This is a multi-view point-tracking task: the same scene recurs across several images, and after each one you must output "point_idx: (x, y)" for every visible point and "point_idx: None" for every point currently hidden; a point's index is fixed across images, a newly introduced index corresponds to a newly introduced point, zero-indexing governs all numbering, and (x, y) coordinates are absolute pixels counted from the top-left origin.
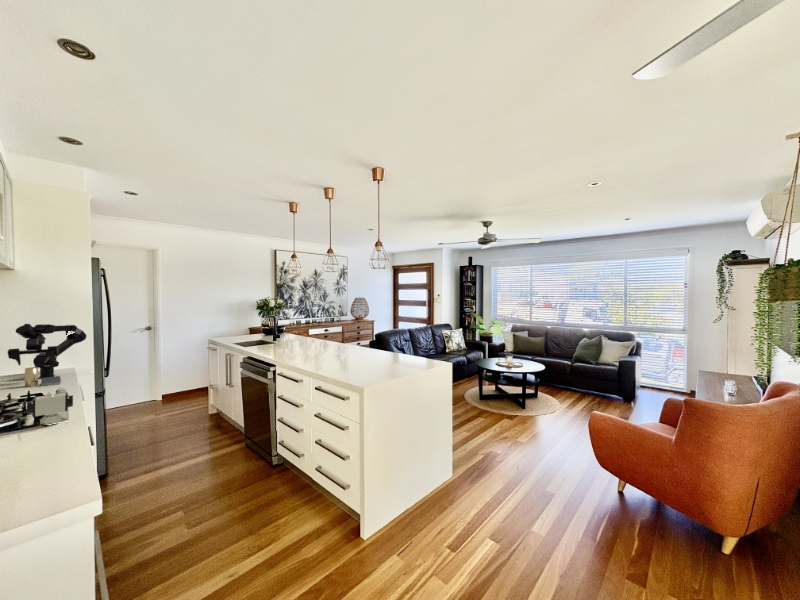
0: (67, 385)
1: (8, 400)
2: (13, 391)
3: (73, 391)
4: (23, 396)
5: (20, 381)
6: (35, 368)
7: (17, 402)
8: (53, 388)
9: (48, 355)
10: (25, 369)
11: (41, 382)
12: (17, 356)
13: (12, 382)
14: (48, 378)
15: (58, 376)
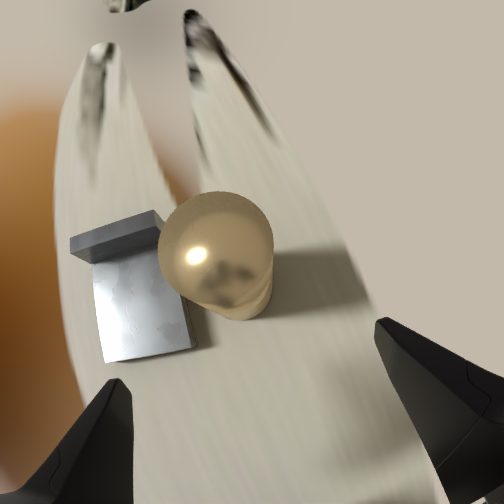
0: (71, 204)
1: (217, 41)
2: (272, 162)
3: (67, 96)
4: (189, 68)
5: (372, 487)
6: (171, 216)
7: (185, 26)
8: (113, 158)
9: (42, 464)
10: (257, 210)
11: (163, 221)
12: (502, 397)
13: (404, 469)
14: (121, 222)
15: (75, 236)
